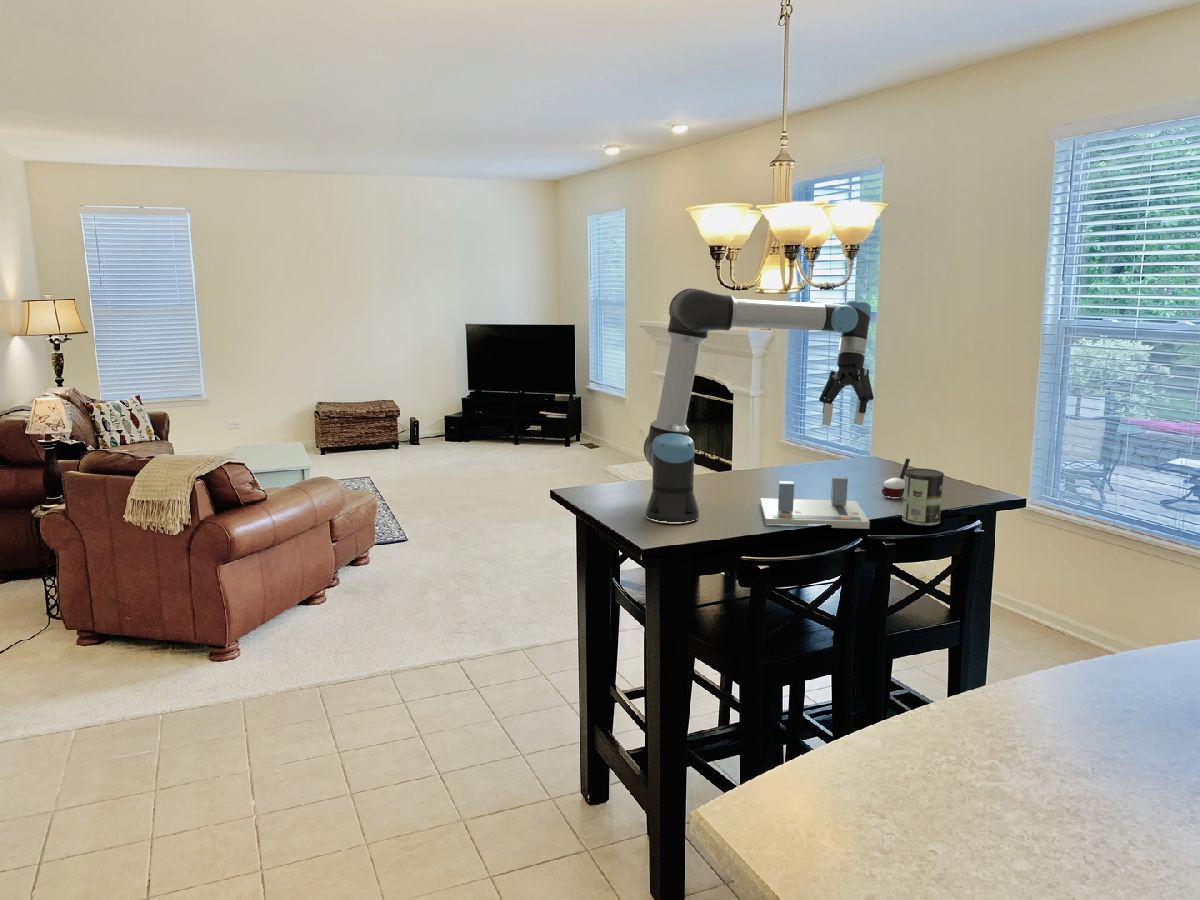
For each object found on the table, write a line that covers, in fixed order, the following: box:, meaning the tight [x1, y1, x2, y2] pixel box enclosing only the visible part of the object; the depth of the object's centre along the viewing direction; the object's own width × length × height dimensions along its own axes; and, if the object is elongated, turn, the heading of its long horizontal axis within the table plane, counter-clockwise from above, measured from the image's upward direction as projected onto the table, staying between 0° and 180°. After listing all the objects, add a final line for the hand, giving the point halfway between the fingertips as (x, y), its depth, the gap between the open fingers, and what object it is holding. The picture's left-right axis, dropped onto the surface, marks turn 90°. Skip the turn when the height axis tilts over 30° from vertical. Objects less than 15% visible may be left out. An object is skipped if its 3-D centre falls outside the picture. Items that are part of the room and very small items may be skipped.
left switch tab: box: [777, 480, 795, 511], centre depth 247 cm, size 4×3×8 cm
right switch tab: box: [830, 475, 849, 506], centre depth 253 cm, size 4×3×8 cm
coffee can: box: [901, 467, 945, 526], centre depth 245 cm, size 10×10×14 cm
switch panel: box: [759, 497, 871, 530], centre depth 250 cm, size 28×22×2 cm
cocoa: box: [881, 457, 911, 498], centre depth 269 cm, size 10×6×12 cm, turn 90°
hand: (841, 425), depth 254 cm, fingers open, 13 cm apart
